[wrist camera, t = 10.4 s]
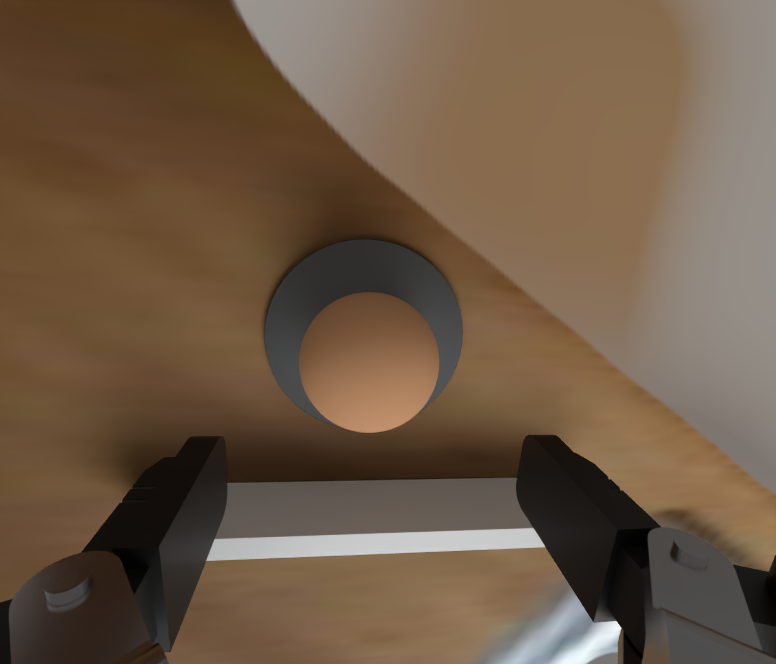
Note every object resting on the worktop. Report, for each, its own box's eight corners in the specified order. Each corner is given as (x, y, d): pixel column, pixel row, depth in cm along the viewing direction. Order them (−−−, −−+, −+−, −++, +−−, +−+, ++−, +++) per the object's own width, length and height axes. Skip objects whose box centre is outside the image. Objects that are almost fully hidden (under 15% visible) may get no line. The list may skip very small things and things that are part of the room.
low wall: (138, 503, 21) (93, 565, 18) (135, 484, 21) (89, 543, 17) (554, 493, 24) (593, 545, 20) (558, 476, 24) (598, 525, 20)
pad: (360, 459, 22) (361, 462, 22) (222, 335, 19) (220, 337, 19) (498, 341, 21) (500, 343, 21) (372, 193, 18) (372, 193, 18)
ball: (362, 416, 21) (369, 490, 15) (280, 339, 19) (253, 389, 14) (447, 342, 20) (488, 390, 15) (369, 255, 19) (380, 272, 13)
